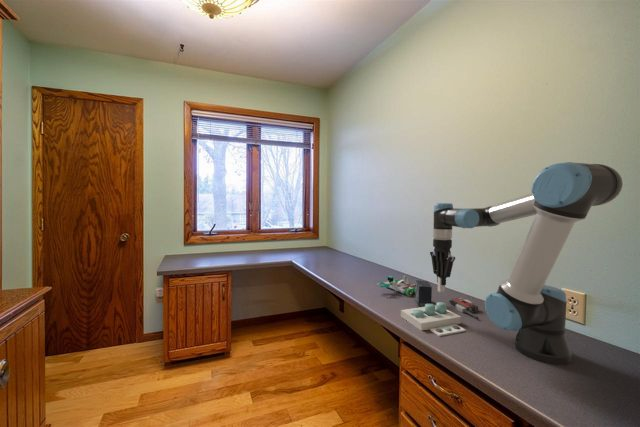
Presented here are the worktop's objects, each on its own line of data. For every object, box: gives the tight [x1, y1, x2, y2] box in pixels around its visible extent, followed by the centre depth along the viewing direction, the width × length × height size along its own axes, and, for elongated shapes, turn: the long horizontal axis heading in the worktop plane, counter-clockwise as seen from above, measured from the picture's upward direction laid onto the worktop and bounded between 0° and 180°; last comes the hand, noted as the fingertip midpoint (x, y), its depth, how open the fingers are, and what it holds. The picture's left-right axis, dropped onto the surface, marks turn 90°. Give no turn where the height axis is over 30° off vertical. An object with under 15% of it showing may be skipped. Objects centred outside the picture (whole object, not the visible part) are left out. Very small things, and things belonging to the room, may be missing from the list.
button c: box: [413, 310, 424, 318], centre depth 119 cm, size 4×4×4 cm
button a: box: [435, 301, 448, 314], centre depth 122 cm, size 4×4×4 cm
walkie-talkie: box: [448, 297, 479, 319], centre depth 131 cm, size 9×4×20 cm
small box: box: [415, 279, 433, 308], centre depth 140 cm, size 11×6×10 cm, turn 168°
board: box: [400, 304, 462, 331], centre depth 121 cm, size 14×20×3 cm
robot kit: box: [375, 275, 416, 297], centre depth 158 cm, size 19×25×9 cm
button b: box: [425, 303, 436, 316], centre depth 120 cm, size 4×4×4 cm
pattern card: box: [429, 324, 467, 337], centre depth 111 cm, size 5×13×1 cm, turn 108°
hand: (441, 291), depth 122 cm, fingers closed
